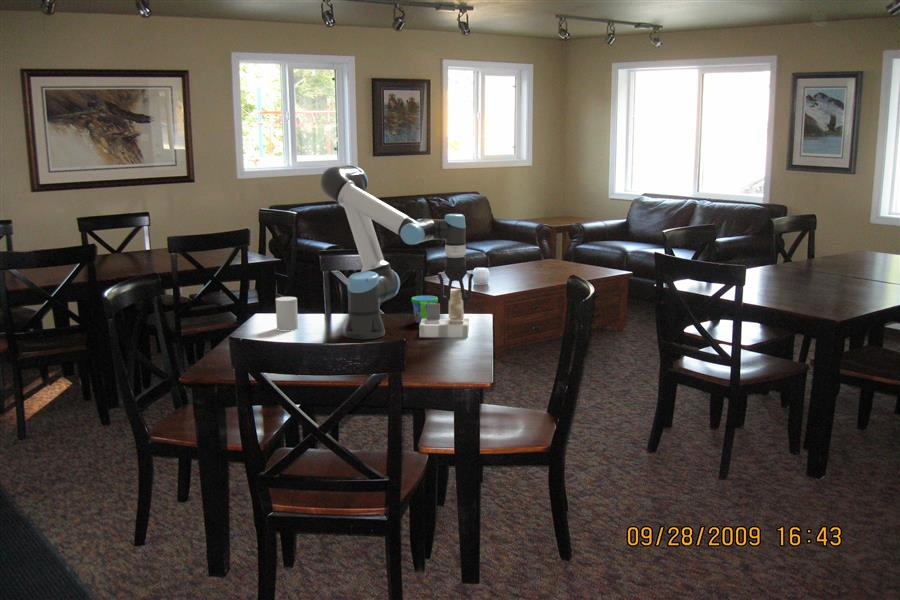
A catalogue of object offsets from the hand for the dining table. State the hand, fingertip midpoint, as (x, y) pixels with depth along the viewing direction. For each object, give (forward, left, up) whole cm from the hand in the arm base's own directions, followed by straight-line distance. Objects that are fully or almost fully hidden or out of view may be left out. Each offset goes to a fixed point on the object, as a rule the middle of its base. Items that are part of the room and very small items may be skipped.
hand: (456, 317), depth 317 cm
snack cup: (-14, +21, -7) cm, 26 cm away
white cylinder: (-67, +9, -7) cm, 67 cm away
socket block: (-5, +2, -7) cm, 8 cm away
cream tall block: (0, 0, 0) cm, 0 cm away
